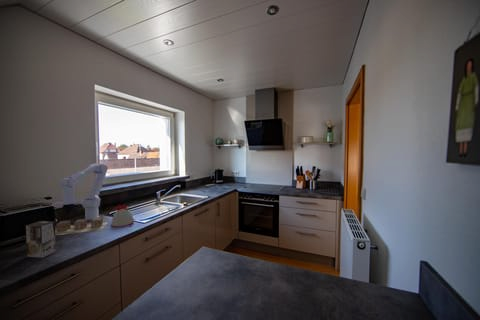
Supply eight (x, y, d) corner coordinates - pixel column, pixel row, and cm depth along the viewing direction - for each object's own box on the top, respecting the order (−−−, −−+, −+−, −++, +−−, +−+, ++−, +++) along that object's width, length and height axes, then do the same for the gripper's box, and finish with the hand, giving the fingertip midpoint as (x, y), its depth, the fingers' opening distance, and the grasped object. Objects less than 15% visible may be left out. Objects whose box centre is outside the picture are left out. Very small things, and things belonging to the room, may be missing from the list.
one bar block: (77, 227, 123) (77, 219, 123) (86, 226, 125) (86, 218, 124) (74, 230, 118) (74, 222, 118) (83, 229, 120) (83, 221, 120)
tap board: (60, 227, 123) (60, 226, 123) (109, 222, 134) (109, 221, 134) (45, 238, 109) (45, 236, 109) (102, 231, 119) (102, 229, 119)
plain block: (60, 228, 119) (60, 221, 119) (70, 227, 121) (70, 220, 121) (56, 232, 115) (56, 224, 114) (66, 230, 117) (66, 223, 116)
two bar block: (94, 225, 126) (94, 218, 126) (102, 224, 128) (102, 217, 128) (91, 228, 121) (91, 220, 121) (100, 227, 123) (100, 219, 123)
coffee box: (56, 251, 95) (56, 221, 95) (42, 258, 89) (41, 226, 88) (41, 249, 96) (40, 220, 95) (25, 256, 90) (25, 225, 89)
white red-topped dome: (113, 222, 135) (113, 202, 134) (134, 219, 141) (134, 201, 140) (109, 229, 122) (109, 208, 122) (132, 226, 128) (132, 206, 128)
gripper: (51, 197, 115) (51, 218, 115) (79, 196, 120) (80, 216, 121) (57, 195, 121) (57, 214, 122) (84, 193, 127) (84, 212, 128)
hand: (69, 215), depth 122 cm, fingers closed
